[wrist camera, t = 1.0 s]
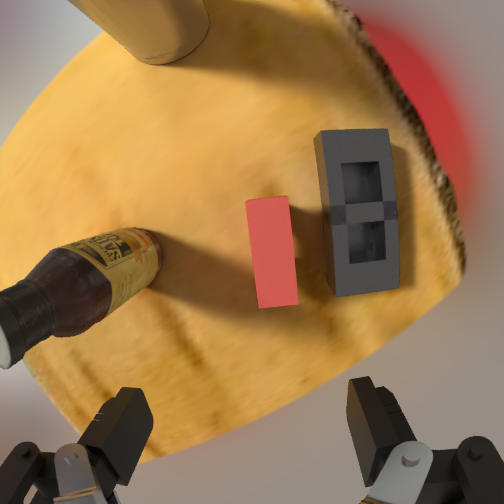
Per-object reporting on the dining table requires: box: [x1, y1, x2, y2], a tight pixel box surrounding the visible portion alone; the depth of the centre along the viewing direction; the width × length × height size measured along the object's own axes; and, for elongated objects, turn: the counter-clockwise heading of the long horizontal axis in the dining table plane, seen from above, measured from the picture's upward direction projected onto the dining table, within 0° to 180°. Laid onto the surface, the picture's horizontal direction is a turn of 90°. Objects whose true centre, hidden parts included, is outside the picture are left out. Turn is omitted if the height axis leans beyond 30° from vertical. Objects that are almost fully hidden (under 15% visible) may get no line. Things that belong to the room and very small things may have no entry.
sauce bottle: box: [0, 227, 162, 369], centre depth 20 cm, size 6×6×20 cm
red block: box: [245, 196, 298, 308], centre depth 25 cm, size 8×3×7 cm, turn 7°
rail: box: [314, 129, 399, 297], centre depth 25 cm, size 14×6×4 cm, turn 7°
